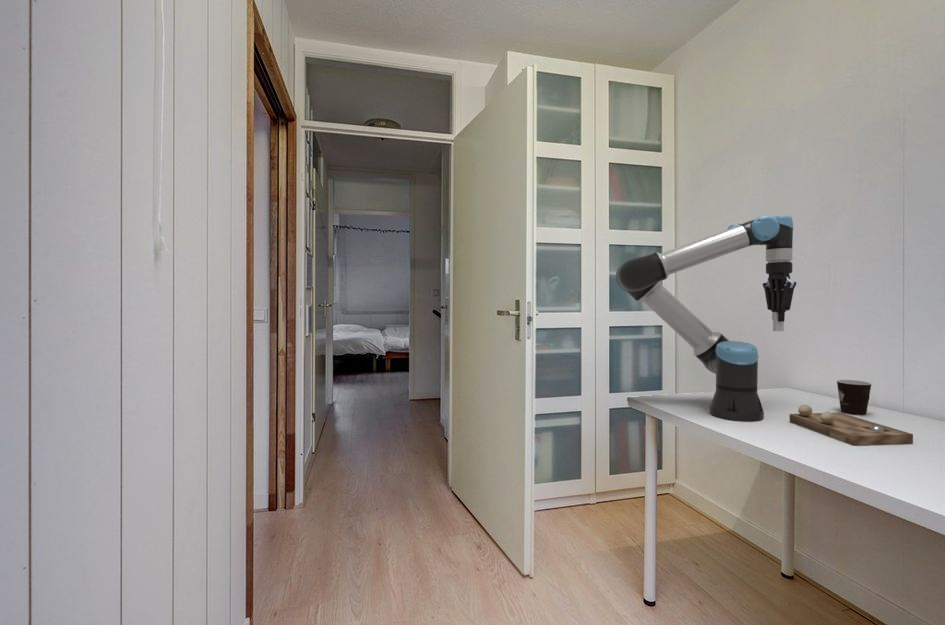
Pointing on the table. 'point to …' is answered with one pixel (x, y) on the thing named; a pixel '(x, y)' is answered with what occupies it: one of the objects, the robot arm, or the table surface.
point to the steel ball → (876, 428)
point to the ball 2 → (827, 417)
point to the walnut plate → (852, 430)
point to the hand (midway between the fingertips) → (778, 331)
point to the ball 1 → (805, 410)
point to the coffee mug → (853, 396)
